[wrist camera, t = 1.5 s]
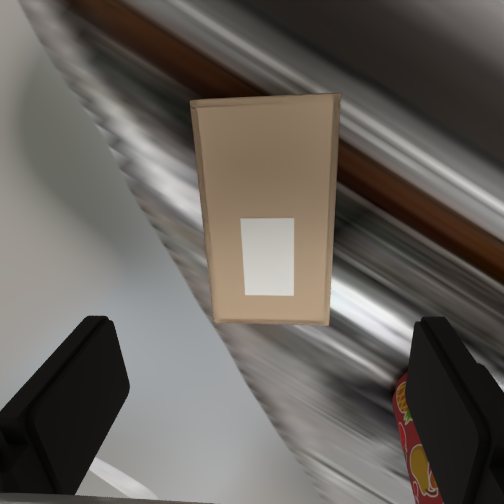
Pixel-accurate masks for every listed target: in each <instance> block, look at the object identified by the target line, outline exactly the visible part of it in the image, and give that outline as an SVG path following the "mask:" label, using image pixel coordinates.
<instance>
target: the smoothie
mask: <svg viewBox="0 0 504 504" xmlns="http://www.w3.org/2000/svg"><path fill="white" fill-rule="evenodd" d="M406 379H407V372H406V373H405V374H404V375H403V376H402V377H401V378H400V379H399V380H398V382H397V385H396V387H395V393H394V395H393V398H392V401H393V410H394V414H395V418H396V422H397V427H398V431H399V435H400V439H401V443H402V448H403V452H404V456H405V460H406V464H407V469H408V473H409V477H410V481H411V486H412V490H413V494H414V498H415V502H416V504H444V503H443V500H442V497H441V495H440V492H439V489H438V487H437V484H436V481H435V479H434V476H433V473H432V471H431V468H430V465H429V463H428V460H427V457H426V455H425V452H424V449H423V447H422V444H421V441H420V439H419V436H418V433H417V431H416V428H415V425H414V422H413V420H412V417H411V414H410V412H409V409H408V406H407V404H406V400H405V386H406Z"/></svg>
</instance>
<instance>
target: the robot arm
mask: <svg viewBox="0 0 504 504" xmlns="http://www.w3.org/2000/svg"><path fill="white" fill-rule="evenodd" d="M129 389H130V384H129V379H128V376H127V372H126V368H125V364H124V360H123V357H122V353H121V349H120V345H119V341H118V338H117V334H116V330H115V326H114V323H113V321H111V320H109V319H108V317H107V316H87V317H86V318H84V319H83V321H82V322H81V323H80V324H79V325H78V326H77V327H76V328H75V329H74V330H73V332H72V333H71V334H70V335H69V336H68V337H67V338H66V339H65V340H64V342H63V343H62V344H61V345H60V346H59V347H58V348H57V349H56V350H55V352H54V353H53V354H52V355H51V356H50V357H49V358H48V359H47V360H46V361H45V363H44V364H43V365H42V366H41V367H40V368H39V369H38V370H37V371H36V372H35V373H34V375H33V376H32V377H31V378H30V379H29V380H28V381H27V382H26V383H25V384H24V386H23V387H22V388H21V389H20V390H19V391H18V392H17V393H16V394H15V395H14V397H13V398H12V399H11V400H10V401H9V402H8V403H7V404H6V405H5V407H4V408H3V409H2V410H1V411H0V504H213V503H197V502H181V501H165V500H164V501H163V500H149V499H131V498H113V497H96V496H79V495H75V493H76V492H77V490H78V488H79V486H80V484H81V482H82V480H83V479H84V477H85V475H86V473H87V471H88V469H89V467H90V465H91V464H92V462H93V460H94V458H95V456H96V454H97V452H98V450H99V449H100V447H101V445H102V443H103V441H104V439H105V437H106V435H107V434H108V432H109V430H110V428H111V426H112V424H113V422H114V421H115V418H116V417H117V415H118V413H119V411H120V409H121V407H122V405H123V404H124V402H125V400H126V398H127V396H128V393H129ZM405 400H406V404H407V406H408V409H409V412H410V414H411V417H412V420H413V422H414V425H415V428H416V431H417V433H418V436H419V439H420V441H421V444H422V447H423V449H424V452H425V455H426V457H427V460H428V463H429V465H430V468H431V471H432V473H433V476H434V479H435V481H436V484H437V487H438V489H439V492H440V495H441V497H442V500H443V503H444V504H504V392H503V391H502V389H501V388H500V387H499V385H498V384H497V382H496V381H495V380H494V378H493V377H492V375H491V374H490V373H489V371H488V370H487V369H486V368H485V366H484V365H482V364H480V363H477V362H476V361H475V360H474V358H473V357H472V355H471V354H470V352H469V351H468V349H467V348H466V347H465V345H464V344H463V342H462V341H461V339H460V338H459V336H458V335H457V333H456V332H455V331H454V329H453V328H452V326H451V325H450V323H449V322H448V320H447V319H446V318H445V317H422V319H421V322H415V325H414V331H413V338H412V345H411V352H410V359H409V365H408V372H407V379H406V386H405Z"/></svg>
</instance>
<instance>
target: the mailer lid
mask: <svg viewBox="0 0 504 504" xmlns="http://www.w3.org/2000/svg"><path fill="white" fill-rule="evenodd" d="M340 102H341V93H320V94H299V95H278V96H258V97H237V98H216V99H200V100H192V101H190V108H191V117H192V127H193V136H194V145H195V154H196V163H197V173H198V182H199V191H200V200H201V209H202V219H203V228H204V237H205V246H206V255H207V265H208V274H209V283H210V292H211V301H212V311H213V320H214V323H246V324H291V325H329V313H330V294H331V275H332V255H333V236H334V217H335V198H336V178H337V159H338V140H339V121H340Z"/></svg>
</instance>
